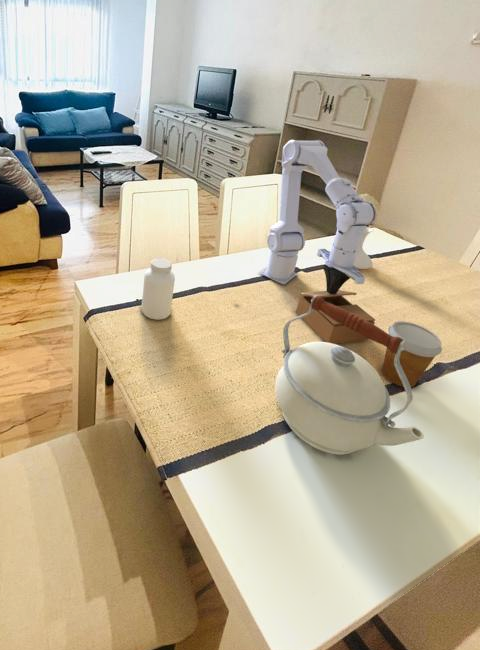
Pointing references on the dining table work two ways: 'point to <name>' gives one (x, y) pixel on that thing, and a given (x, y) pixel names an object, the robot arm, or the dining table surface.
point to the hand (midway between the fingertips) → (331, 292)
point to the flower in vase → (362, 258)
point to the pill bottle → (158, 289)
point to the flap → (326, 294)
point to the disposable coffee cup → (411, 352)
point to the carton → (328, 326)
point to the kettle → (340, 390)
